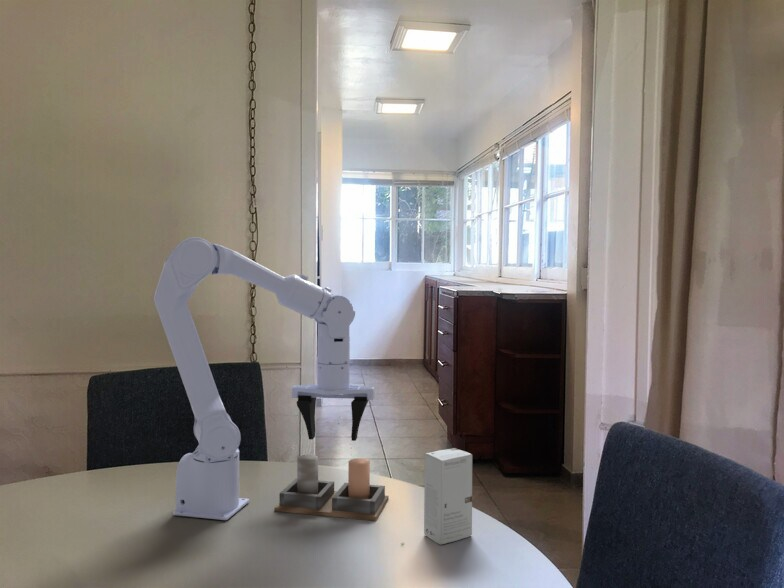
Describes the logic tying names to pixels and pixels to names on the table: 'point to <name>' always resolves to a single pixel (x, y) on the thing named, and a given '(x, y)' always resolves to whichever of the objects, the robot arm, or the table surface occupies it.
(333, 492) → the tube rack
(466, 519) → the skincare box
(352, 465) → the terracotta tube
